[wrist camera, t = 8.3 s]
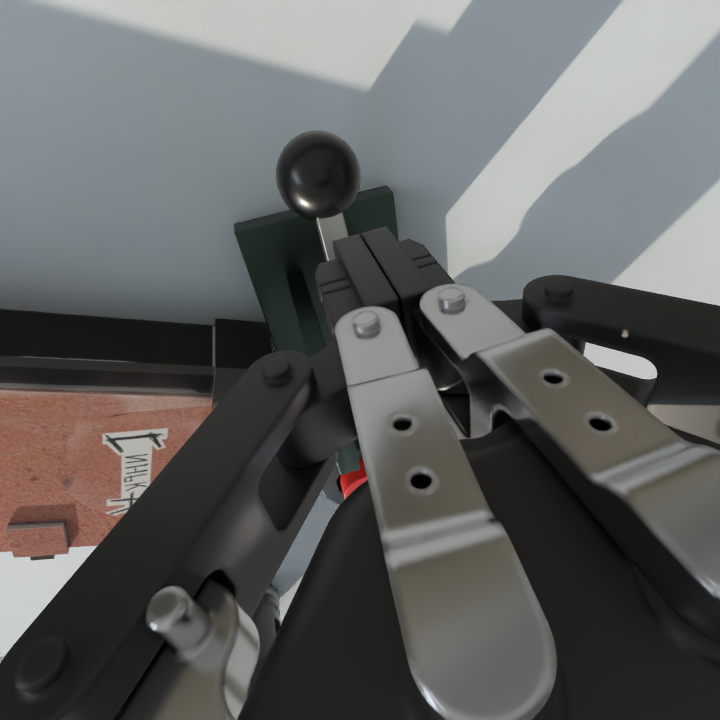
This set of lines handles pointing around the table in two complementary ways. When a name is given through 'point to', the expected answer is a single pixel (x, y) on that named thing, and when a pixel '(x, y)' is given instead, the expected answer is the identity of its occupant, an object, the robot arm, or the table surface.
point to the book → (101, 415)
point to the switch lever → (319, 182)
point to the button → (353, 480)
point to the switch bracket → (303, 276)
